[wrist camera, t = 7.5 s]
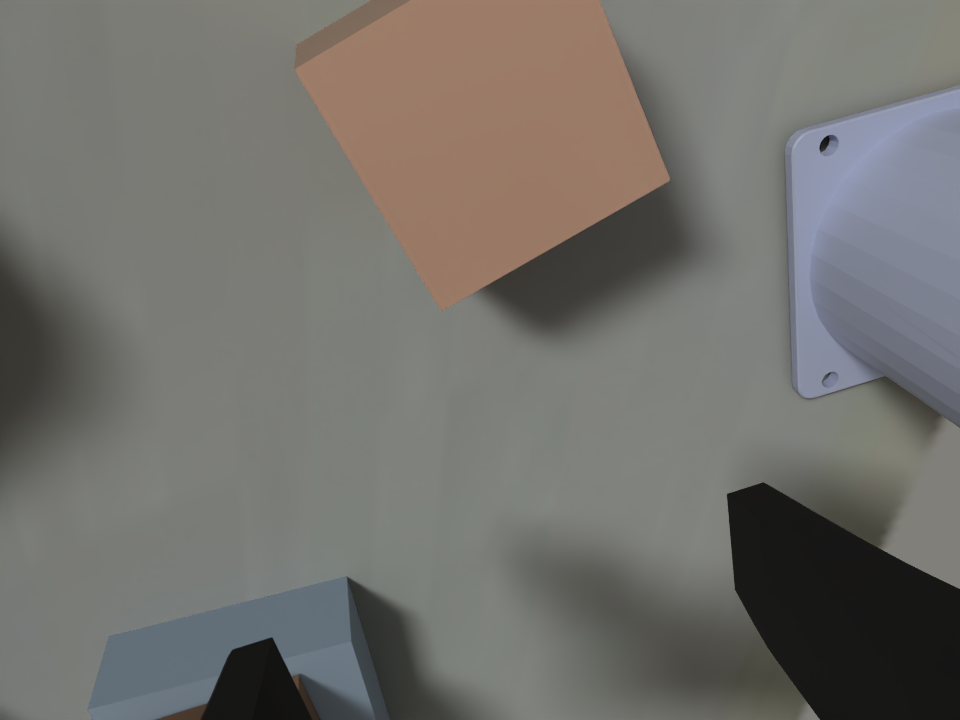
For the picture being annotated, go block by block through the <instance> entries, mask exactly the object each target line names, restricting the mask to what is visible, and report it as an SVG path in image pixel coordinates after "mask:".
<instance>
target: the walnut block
mask: <svg viewBox="0 0 960 720" xmlns="http://www.w3.org/2000/svg"><path fill="white" fill-rule="evenodd" d="M292 678H293V681H294V683H295V685H296V687H297V689H298V691H299V693H300V695H301V697H302V699H303V701H304V703H305V705H306V707H307V709H308V711H309V713H310V715H311V718H312V720H321V719H320V717H319V715H318V713H317V711H316V709H315V707H314V705H313V703H312V701H311V699H310V697H309V695H308V693H307V691H306V689H305V686H304V684H303V682H302V680H301V678H300V676H299V675H296V676H293V677H292ZM206 706H207V704H204V705H201V706H198V707H195V708H191V709H188V710H185V711H182V712H179V713H176V714H172V715H169V716H166V717H163V718H160V719H157V720H200V719H201V717H202V715H203V713H204V710H205V708H206Z"/></svg>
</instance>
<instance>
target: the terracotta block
mask: <svg viewBox="0 0 960 720" xmlns="http://www.w3.org/2000/svg"><path fill="white" fill-rule="evenodd" d="M294 70H295V72H296V73H297V75H298V77H299V78H300V80H301V82H302V83H303V85H304V87H305V88H306V90H307V92H308V93H309V95H310V96H311V98H312V100H313V101H314V103H315V105H316V106H317V108H318V110H319V111H320V113H321V115H322V116H323V118H324V119H325V121H326V123H327V124H328V126H329V128H330V129H331V131H332V133H333V134H334V136H335V138H336V139H337V141H338V142H339V144H340V146H341V147H342V149H343V151H344V152H345V154H346V156H347V157H348V159H349V161H350V162H351V164H352V165H353V167H354V169H355V170H356V172H357V174H358V175H359V177H360V179H361V180H362V182H363V184H364V185H365V187H366V188H367V190H368V192H369V193H370V195H371V197H372V198H373V200H374V202H375V203H376V205H377V207H378V208H379V210H380V211H381V213H382V215H383V216H384V218H385V220H386V221H387V223H388V225H389V226H390V228H391V230H392V231H393V233H394V234H395V236H396V238H397V239H398V241H399V243H400V244H401V246H402V248H403V249H404V251H405V253H406V254H407V256H408V257H409V259H410V261H411V262H412V264H413V266H414V267H415V269H416V271H417V272H418V274H419V276H420V277H421V279H422V280H423V282H424V284H425V285H426V287H427V289H428V290H429V292H430V294H431V295H432V297H433V298H434V300H435V302H436V303H437V305H438V307H439V308H440V310H441V311H443V310H444V309H446V308H448V307H450V306H451V305H453V304H455V303H457V302H458V301H460V300H462V299H464V298H465V297H467V296H469V295H471V294H472V293H474V292H476V291H478V290H479V289H481V288H483V287H485V286H486V285H488V284H490V283H492V282H493V281H495V280H497V279H499V278H500V277H502V276H504V275H506V274H507V273H509V272H511V271H513V270H514V269H516V268H518V267H520V266H521V265H523V264H525V263H527V262H528V261H530V260H532V259H534V258H535V257H537V256H539V255H541V254H542V253H544V252H546V251H548V250H549V249H551V248H553V247H555V246H556V245H558V244H560V243H562V242H563V241H565V240H567V239H569V238H571V237H572V236H574V235H576V234H578V233H579V232H581V231H583V230H585V229H586V228H588V227H590V226H592V225H593V224H595V223H597V222H599V221H600V220H602V219H604V218H606V217H607V216H609V215H611V214H613V213H614V212H616V211H618V210H620V209H621V208H623V207H625V206H627V205H628V204H630V203H632V202H634V201H635V200H637V199H639V198H641V197H642V196H644V195H646V194H648V193H649V192H651V191H653V190H655V189H656V188H658V187H660V186H662V185H663V184H665V183H667V182H669V181H670V178H669V175H668V173H667V170H666V167H665V165H664V162H663V160H662V157H661V155H660V152H659V150H658V147H657V145H656V142H655V140H654V137H653V134H652V132H651V129H650V127H649V124H648V122H647V119H646V117H645V114H644V112H643V109H642V107H641V104H640V101H639V99H638V96H637V94H636V91H635V89H634V86H633V84H632V81H631V79H630V76H629V74H628V71H627V68H626V66H625V63H624V61H623V58H622V56H621V53H620V51H619V48H618V46H617V43H616V41H615V38H614V35H613V33H612V30H611V28H610V25H609V23H608V20H607V18H606V15H605V13H604V10H603V8H602V5H601V2H600V0H371V1H369V2H367V3H366V4H364V5H362V6H361V7H359V8H357V9H356V10H354V11H352V12H351V13H349V14H347V15H346V16H344V17H342V18H341V19H339V20H337V21H336V22H334V23H332V24H331V25H329V26H327V27H325V28H324V29H322V30H320V31H319V32H317V33H315V34H314V35H312V36H310V37H309V38H307V39H305V40H304V41H302V42H300V43H299V44H297V46H296V56H295V66H294Z"/></svg>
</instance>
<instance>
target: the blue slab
mask: <svg viewBox="0 0 960 720" xmlns="http://www.w3.org/2000/svg"><path fill="white" fill-rule="evenodd" d="M271 637H273V639H274V641H275V643H276V646H277V648H278V650H279V652H280V654H281V656H282V658H283V660H284V662H285V664H286V666H287V668H288V670H289V672H290V674H291V676H292V677H293V676H296V675H299V676H300V678H301V680H302V682H303V684H304V686H305V689H306V691H307V693H308V695H309V697H310V699H311V701H312V703H313V705H314V707H315V709H316V711H317V713H318V715H319V717H320V719H321V720H390V718H389V715H388V712H387V708H386V705H385V702H384V698H383V695H382V692H381V688H380V685H379V682H378V678H377V675H376V672H375V668H374V665H373V662H372V659H371V655H370V652H369V649H368V645H367V642H366V639H365V635H364V632H363V629H362V625H361V622H360V619H359V615H358V612H357V609H356V605H355V602H354V599H353V595H352V592H351V589H350V586H349V582H348V579H347V577H343V578H339V579H335V580H331V581H327V582H323V583H319V584H315V585H311V586H307V587H303V588H299V589H295V590H291V591H287V592H283V593H279V594H275V595H271V596H267V597H263V598H259V599H255V600H251V601H247V602H243V603H239V604H235V605H231V606H228V607H224V608H220V609H216V610H212V611H208V612H204V613H200V614H196V615H192V616H188V617H184V618H180V619H176V620H172V621H168V622H164V623H160V624H156V625H152V626H148V627H144V628H140V629H136V630H132V631H128V632H124V633H120V634H116V635H112V636H109V638H108V641H107V645H106V648H105V652H104V655H103V658H102V662H101V665H100V669H99V672H98V675H97V679H96V682H95V686H94V689H93V693H92V696H91V699H90V703H89V706H88V712H89V714H90V715H91V717H92V719H93V720H157V719H160V718H163V717H166V716H169V715H172V714H176V713H179V712H182V711H185V710H188V709H191V708H195V707H198V706H201V705H204V704H207V703H208V701H209V699H210V697H211V694H212V692H213V690H214V687H215V685H216V683H217V680H218V678H219V676H220V673H221V671H222V669H223V666H224V664H225V662H226V659H227V657H228V655H229V654H230V652H231V651H232V649H236V648H239V647H242V646H245V645H248V644H252V643H255V642H258V641H261V640H264V639H267V638H271Z"/></svg>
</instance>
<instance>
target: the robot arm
mask: <svg viewBox="0 0 960 720" xmlns="http://www.w3.org/2000/svg"><path fill="white" fill-rule="evenodd" d="M828 135H829V139H830V141H829V145H828V147H827V148H826V149H825V150H824V151H823V152H821V153H820V149H819V147H820V143H821V141H822V140H823V139H824V138H825V137H826V136H828ZM785 171H786V202H787V233H788V264H789V295H790V326H791V358H792V384H793V388H794V390H795V391H796V392H797V393H798V394H800V395H801V396H802V397H804V398H807V399H810V398H816V397H819V396H822V395H825V394H829V393H832V392H835V391H838V390H842V389H845V388H848V387H852V386H855V385H858V384H861V383H865V382H868V381H871V380H875V379H878V378H881V377H884V376H886V377H888V378H889V379H891V380H892V381H893V382H895V383H896V384H898V385H899V386H901V387H902V388H904V389H905V390H906V391H908V392H909V393H911V394H912V395H914V396H915V397H916V398H918V399H919V400H921V401H922V402H924V403H925V404H926V405H928V406H929V407H931V408H932V409H934V410H935V411H937V412H938V413H939V414H941V415H942V416H944V417H945V418H947V419H948V420H949V421H951V422H952V423H954V424H955V425H957V426H958V427H960V85H958V86H954V87H951V88H947V89H944V90H940V91H936V92H933V93H929V94H926V95H922V96H918V97H915V98H911V99H908V100H904V101H900V102H897V103H893V104H890V105H886V106H882V107H879V108H875V109H871V110H868V111H864V112H861V113H857V114H853V115H850V116H846V117H843V118H839V119H835V120H832V121H828V122H825V123H821V124H817V125H814V126H810V127H807V128H803V129H801V130H799V131H797V132H795V133H794V134H793V135H792V136H791V137H790V139H789V141H788V143H787V145H786V149H785ZM829 372H831V373H830V376H829V377H828V378H827V379H826V380H824V381H822V380H823V378H824V376H825V375H826V374H828V373H829ZM727 500H728V512H729V524H730V536H731V548H732V559H733V571H734V583H735V591H736V592H737V594H738V596H739V598H740V600H741V601H742V603H743V605H744V607H745V609H746V610H747V612H748V614H749V616H750V618H751V620H752V621H753V623H754V625H755V627H756V628H757V630H758V632H759V633H760V635H761V637H762V639H763V640H764V642H765V644H766V645H767V647H768V649H769V650H770V652H771V653H772V654H773V656H774V657H775V659H776V660H777V661H778V663H779V664H780V665H781V667H782V668H783V670H784V671H785V672H786V674H787V675H788V677H789V678H790V679H791V681H792V682H793V683H794V685H795V686H796V688H797V689H798V690H799V692H800V693H801V694H802V696H803V697H804V698H805V700H806V701H807V703H808V704H809V705H810V707H811V708H812V709H813V711H814V712H815V713H816V715H817V716H818V717H819V719H820V720H960V589H958V588H956V587H954V586H952V585H950V584H948V583H946V582H944V581H942V580H939V579H938V578H936V577H933V576H931V575H929V574H927V573H925V572H923V571H921V570H919V569H917V568H915V567H913V566H911V565H909V564H907V563H905V562H903V561H901V560H900V559H898V558H896V557H894V556H892V555H890V554H888V553H887V552H885V551H883V550H881V549H879V548H877V547H875V546H874V545H872V544H870V543H868V542H866V541H864V540H863V539H861V538H859V537H857V536H855V535H854V534H852V533H850V532H848V531H847V530H845V529H843V528H841V527H840V526H838V525H836V524H834V523H833V522H831V521H829V520H827V519H826V518H824V517H822V516H820V515H819V514H817V513H815V512H814V511H812V510H810V509H808V508H807V507H805V506H803V505H802V504H800V503H798V502H797V501H795V500H793V499H791V498H790V497H788V496H786V495H784V494H783V493H781V492H779V491H778V490H776V489H774V488H772V487H771V486H769V485H767V484H765V483H760V484H757V485H754V486H751V487H748V488H744V489H741V490H738V491H735V492H732V493H729V494H727ZM200 720H312V718H311V715H310V713H309V711H308V709H307V707H306V705H305V703H304V701H303V699H302V697H301V695H300V693H299V691H298V689H297V687H296V685H295V683H294V681H293V678H292V676H291V674H290V672H289V670H288V668H287V666H286V664H285V662H284V660H283V658H282V656H281V654H280V652H279V650H278V648H277V646H276V643H275V641H274V639H273V637H271V638H267V639H264V640H261V641H258V642H255V643H252V644H248V645H245V646H242V647H239V648H236V649H232V651H231V652H230V654H229V655H228V657H227V659H226V662H225V664H224V666H223V669H222V671H221V673H220V676H219V678H218V680H217V683H216V685H215V687H214V690H213V692H212V694H211V697H210V699H209V701H208V703H207V706H206V708H205V710H204V713H203V715H202V717H201V719H200Z"/></svg>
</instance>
